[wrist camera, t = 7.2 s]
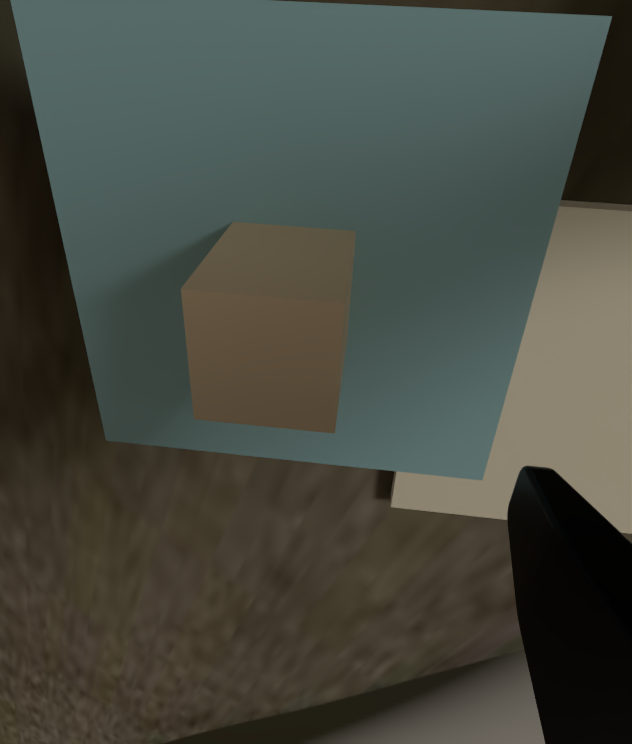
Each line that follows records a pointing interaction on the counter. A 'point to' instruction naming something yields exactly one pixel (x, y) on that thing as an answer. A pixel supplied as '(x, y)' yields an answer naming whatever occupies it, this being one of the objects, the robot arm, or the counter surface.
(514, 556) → the robot arm
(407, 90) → the lid
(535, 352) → the mat
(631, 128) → the counter surface
